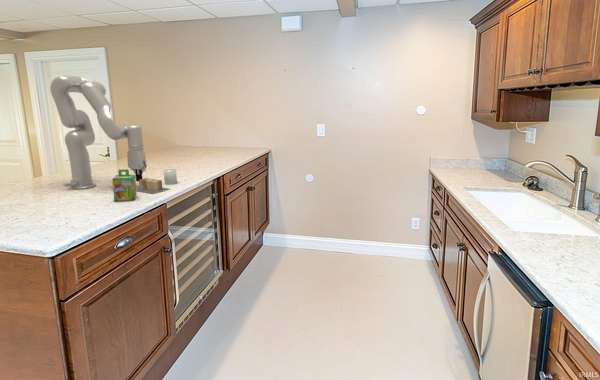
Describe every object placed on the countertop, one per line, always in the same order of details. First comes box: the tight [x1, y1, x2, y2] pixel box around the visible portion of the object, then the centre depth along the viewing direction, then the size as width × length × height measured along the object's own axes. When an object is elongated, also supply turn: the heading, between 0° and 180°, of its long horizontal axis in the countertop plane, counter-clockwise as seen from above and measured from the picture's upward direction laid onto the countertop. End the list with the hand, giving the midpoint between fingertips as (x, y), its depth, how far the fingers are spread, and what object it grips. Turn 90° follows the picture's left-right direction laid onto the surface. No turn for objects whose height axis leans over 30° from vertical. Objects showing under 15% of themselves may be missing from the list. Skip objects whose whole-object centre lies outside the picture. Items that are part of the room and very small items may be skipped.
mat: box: [136, 187, 171, 195], centre depth 204 cm, size 12×14×1 cm
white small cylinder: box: [163, 168, 178, 186], centre depth 219 cm, size 7×7×8 cm
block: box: [138, 177, 164, 191], centre depth 205 cm, size 5×5×12 cm
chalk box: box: [111, 169, 137, 202], centre depth 184 cm, size 9×9×15 cm
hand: (139, 180), depth 209 cm, fingers closed
